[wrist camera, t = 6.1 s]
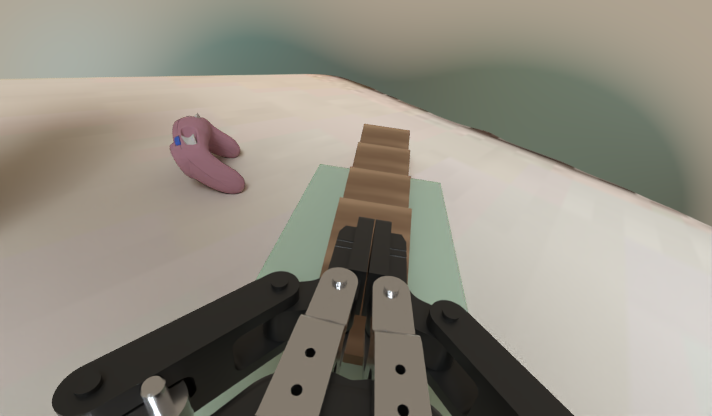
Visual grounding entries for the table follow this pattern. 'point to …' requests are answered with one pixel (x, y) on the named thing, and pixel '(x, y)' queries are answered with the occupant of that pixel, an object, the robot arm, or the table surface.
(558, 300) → the table surface
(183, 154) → the video game controller
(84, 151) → the table surface
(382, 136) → the domino
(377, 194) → the domino
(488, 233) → the table surface
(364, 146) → the domino
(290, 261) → the felt mat
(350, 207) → the domino
